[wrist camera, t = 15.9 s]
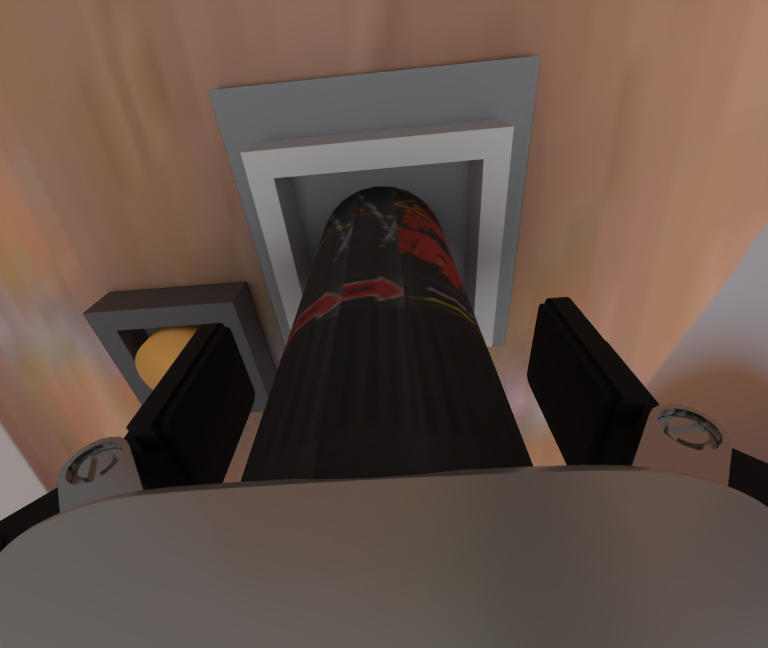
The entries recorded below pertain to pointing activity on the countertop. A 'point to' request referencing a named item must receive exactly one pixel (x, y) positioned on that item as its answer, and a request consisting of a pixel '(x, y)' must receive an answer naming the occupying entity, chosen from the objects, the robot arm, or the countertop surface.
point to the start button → (161, 352)
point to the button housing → (181, 308)
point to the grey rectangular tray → (387, 166)
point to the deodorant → (384, 359)
